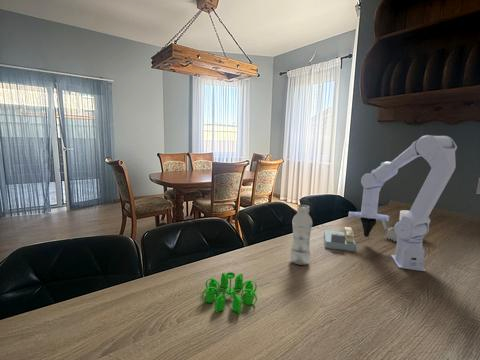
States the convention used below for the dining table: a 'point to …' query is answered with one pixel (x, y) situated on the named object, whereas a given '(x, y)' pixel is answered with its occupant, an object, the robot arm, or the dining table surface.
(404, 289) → the dining table surface
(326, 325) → the dining table surface
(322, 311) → the dining table surface
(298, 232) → the plastic bottle
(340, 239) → the blue-grey block
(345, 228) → the folding leg
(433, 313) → the dining table surface
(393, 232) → the lighter
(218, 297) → the chandelier
